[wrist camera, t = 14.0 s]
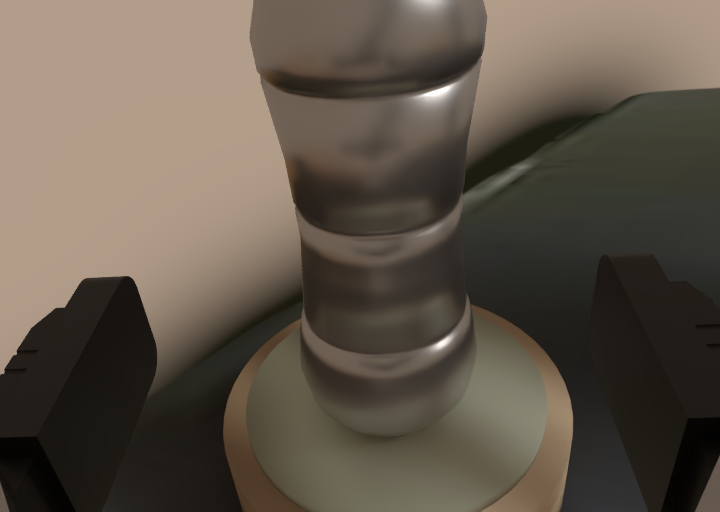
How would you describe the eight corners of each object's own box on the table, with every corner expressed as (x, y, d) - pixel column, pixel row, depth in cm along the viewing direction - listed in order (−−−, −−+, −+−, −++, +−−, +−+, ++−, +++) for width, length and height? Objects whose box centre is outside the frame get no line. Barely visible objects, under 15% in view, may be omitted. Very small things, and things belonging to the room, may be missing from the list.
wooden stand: (379, 319, 38) (374, 253, 35) (621, 439, 30) (636, 365, 27) (176, 485, 30) (150, 415, 27) (432, 714, 21) (430, 646, 19)
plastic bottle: (296, 361, 29) (195, -194, 18) (444, 327, 30) (438, -217, 19) (325, 481, 24) (209, -196, 12) (504, 435, 25) (545, -229, 13)
